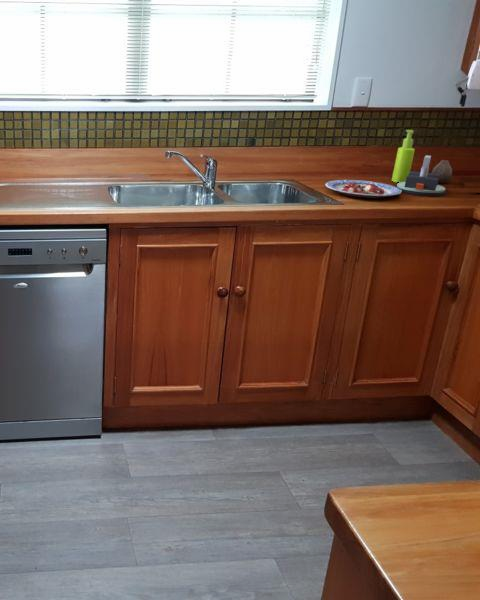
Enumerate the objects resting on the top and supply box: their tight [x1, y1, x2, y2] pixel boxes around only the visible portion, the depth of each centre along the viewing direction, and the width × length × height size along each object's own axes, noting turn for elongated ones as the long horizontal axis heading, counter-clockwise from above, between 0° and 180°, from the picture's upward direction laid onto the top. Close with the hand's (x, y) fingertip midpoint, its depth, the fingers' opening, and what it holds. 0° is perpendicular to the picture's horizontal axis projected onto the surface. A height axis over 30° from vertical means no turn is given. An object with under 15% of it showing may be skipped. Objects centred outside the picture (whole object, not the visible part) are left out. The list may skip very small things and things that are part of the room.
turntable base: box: [395, 185, 447, 198], centre depth 228 cm, size 17×17×1 cm
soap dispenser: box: [391, 129, 416, 183], centre depth 241 cm, size 6×7×20 cm
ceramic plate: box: [325, 179, 402, 199], centre depth 224 cm, size 26×26×3 cm
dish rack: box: [396, 155, 446, 193], centre depth 225 cm, size 16×16×12 cm
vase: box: [431, 159, 453, 185], centre depth 242 cm, size 7×7×9 cm
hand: (477, 106), depth 224 cm, fingers open, 9 cm apart
